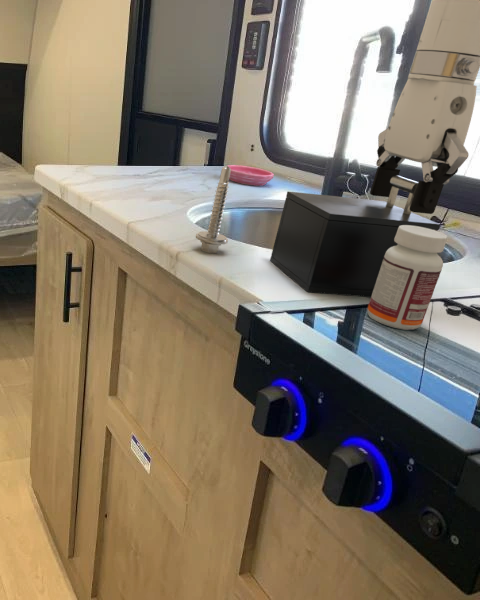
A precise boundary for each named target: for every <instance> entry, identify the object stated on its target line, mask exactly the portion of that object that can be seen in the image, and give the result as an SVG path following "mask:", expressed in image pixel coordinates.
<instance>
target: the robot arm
mask: <svg viewBox="0 0 480 600" xmlns="http://www.w3.org/2000/svg"><path fill="white" fill-rule="evenodd" d="M424 21H425V22H424V25H423V28H422V31H421V33H420V37H419V41H418V44H417V48H416V51H415V54H414V56H413V60H412V63H411V66H410V69H409V73H408V76H407V81H406V82H405V84H404V87H403V88H402V90H401V93H400V94H399V95H400V96H399V98H398V100H397V102H396V106H395V108H394V110H393V113H392V115H391V118H390V121H389V124H388V127H387V128H385V129H384V130H383V131H380V133H379V134H378V137H377V139H378V142H377V143H378V147H377V150H376V152H377V159H376V167H377V168H376V171H375V175H374V177H373V181H372V184H371V187H370V191H369V194H370V195H371V196H374V197H381V198H382V197H383V198H389V195H390V191H391V188H392V186H391V185H390V180H391V178H392V177H393V176H396V175H398V176H400V172H401V169H399V167H400V165H402V163H403V162H404V161H405V160H409V161H412V162H416V163H419V164H420V163H421V170H422V178H423V180H418V181H417V182H418V185H417V188H416V191H415V194H414V197H413V199H412V202H411V205H410V211H411V212H412V213H415V214H417V213H418V214H426V215H433V214H434V213H435V211H436V209H437V205H438V202H439V199H440V197H441V194H442V191H443V189H444V185H447V184H449V183H450V180H451V178H452V177H454V175H456V174H457V173H458V172H459V169H460V168H461V166H462V165H463V164H464V163H465V162H466V161H467V160H468V158H469V152H468V150H467V148H466V147H465V146H464V145H465V142H466V138H467V135H468V132H469V128H470V125H471V121H472V118H473V114H474V108H475V103H476V97H477V89H478V88H477V87H478V86H477V85H475V83H476V82H475V81H476V79H477V77H478V73H479V70H480V0H431V1H430V5H429V9H428V11H427V15H426V18H425V20H424ZM434 167H436V168H435V169H434Z"/></svg>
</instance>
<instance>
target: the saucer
mask: <svg viewBox="0 0 480 600" xmlns="http://www.w3.org/2000/svg"><path fill="white" fill-rule="evenodd" d="M226 166H228V167H229V168H231V172H230V177H229V181H232V182H235V183H238V184H241V185H246V186H247V185H248V186H253V187H254V186H255V187H260V186H261V187H262V186H265V185H266V184H267V183H269V182H271V181H272V180H273V179H274V176H275V175H274V173H273V172H272V171H269V170H266V169H264V168H259V167H253V166H249V165H240V164H227V165H226Z"/></svg>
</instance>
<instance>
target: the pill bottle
mask: <svg viewBox="0 0 480 600" xmlns="http://www.w3.org/2000/svg"><path fill="white" fill-rule="evenodd" d="M448 239H449V238H448V235H447V234H445V233H444V232H441V231H439V230H432V229H428V228H424V227H419V226H411V225H401V226H399V228H398V230H397V233H396V236H395V238H394V241H395V242H396V243H398V245H397V246H393V247H391V248H389V249H388V250H387V251H386V253H385V256H384V259H383V262H382V265H381V268H380V271H379V274H378V277H377V281H376V284H375V287H374V290H373V293H372V296H371V297H370V298H369V299H370V300H369V302H368V304H367V309H366V312H367V315H368V316H369V318H370V319H372V320H373V321H375V322H376V323H379V324H382V325H383V326H384V325H385V326H387V327H390V328H394V329H398V330H406V331H410V330H417V329H419V328H420V327H421V326H422V325H423V322H424V320H425V317H426V314H427V311H428V309H429V305H430V302H431V300H432V299H433V295H434V292H435V289H436V286H437V283H438V281H439V279H440V275H441V273H442V271H443V268H444V267H443V266H444V261H443V259H442V257H441V256H440V255H439V254H438V253H443V252H444V250H445V247H446V244H447V240H448Z"/></svg>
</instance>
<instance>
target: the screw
mask: <svg viewBox="0 0 480 600" xmlns="http://www.w3.org/2000/svg"><path fill="white" fill-rule="evenodd" d="M230 172H231V168H229V167H228V166H227V165H224V166H223V167H222V168H221V170H220V175H219V180H218V182H217V186H216V190H215V194H214V198H213V200H214V201H213V205H212V206H211V208H212V209H211V213H210V217H209V221H208V223H209V225H208V228H207V231H204V230H203V231H199V232H197V233H196V234H195V238H196V239H197V241H200V243H201V245H200V246H201V247H200V251H203V252H205V253H206V254H207V253H208V254H217V253H218V252H219V248H220V247H221V246H222V245H227V244H228V242H229V239H228V238H227V237H226V235H223V234H221V233H220V231H221V229H220V228H221V227H222V225H221V224H222V223H223V222H222V220H223V216H224V212H225V210H224V209H225V208H226V206H225V205H226V204H227V202H226V200H227V196H228V192H229V188H230V186H229V185H230V182H229V181H230V179H229V177H230Z"/></svg>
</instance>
